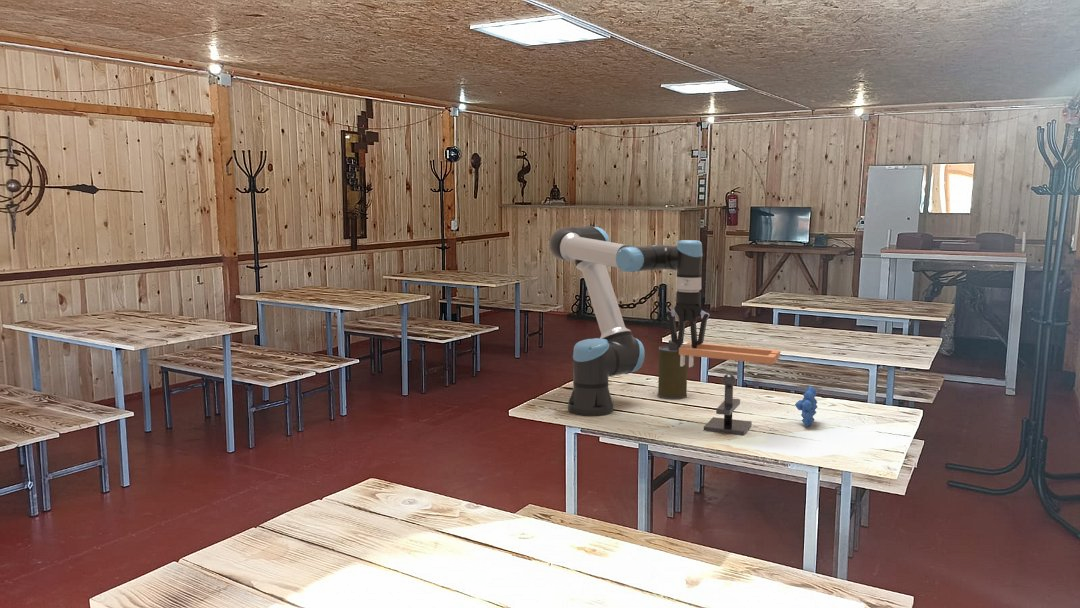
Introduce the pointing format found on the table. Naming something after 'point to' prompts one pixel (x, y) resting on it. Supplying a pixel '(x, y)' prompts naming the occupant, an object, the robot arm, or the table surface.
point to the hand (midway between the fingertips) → (686, 365)
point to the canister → (671, 373)
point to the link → (731, 353)
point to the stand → (728, 412)
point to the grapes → (808, 406)
